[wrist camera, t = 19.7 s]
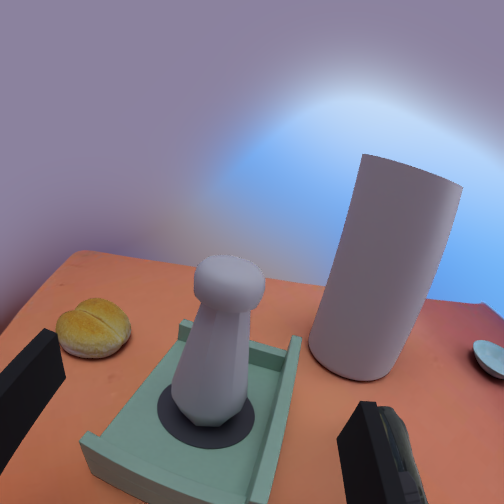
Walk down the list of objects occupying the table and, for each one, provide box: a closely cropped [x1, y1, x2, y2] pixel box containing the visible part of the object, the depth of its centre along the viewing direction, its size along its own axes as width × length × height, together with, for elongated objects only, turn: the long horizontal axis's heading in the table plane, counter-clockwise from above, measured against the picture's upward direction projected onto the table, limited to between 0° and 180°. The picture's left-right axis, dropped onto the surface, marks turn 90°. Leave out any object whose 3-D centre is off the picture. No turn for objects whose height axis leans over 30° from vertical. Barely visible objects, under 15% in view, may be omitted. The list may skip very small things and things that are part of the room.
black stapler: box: [378, 406, 428, 504], centre depth 20 cm, size 5×3×15 cm
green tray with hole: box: [79, 319, 302, 504], centre depth 23 cm, size 12×18×7 cm, turn 166°
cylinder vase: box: [308, 154, 463, 381], centre depth 35 cm, size 12×12×25 cm
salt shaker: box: [171, 255, 265, 427], centre depth 21 cm, size 6×6×13 cm
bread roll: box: [56, 298, 131, 358], centre depth 31 cm, size 8×9×4 cm
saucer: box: [473, 340, 504, 379], centre depth 38 cm, size 12×12×2 cm
